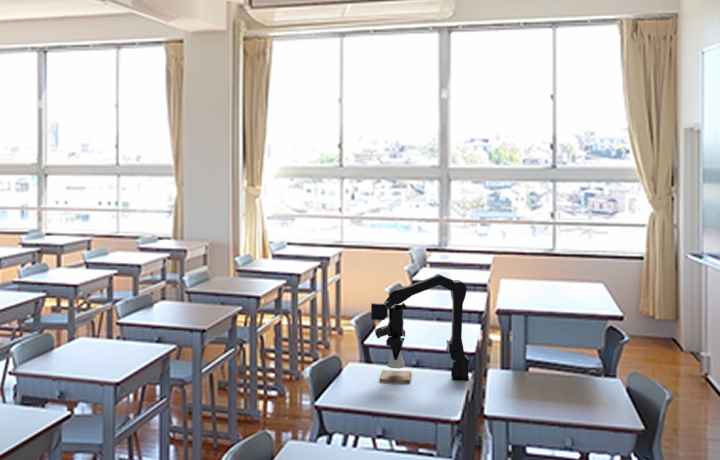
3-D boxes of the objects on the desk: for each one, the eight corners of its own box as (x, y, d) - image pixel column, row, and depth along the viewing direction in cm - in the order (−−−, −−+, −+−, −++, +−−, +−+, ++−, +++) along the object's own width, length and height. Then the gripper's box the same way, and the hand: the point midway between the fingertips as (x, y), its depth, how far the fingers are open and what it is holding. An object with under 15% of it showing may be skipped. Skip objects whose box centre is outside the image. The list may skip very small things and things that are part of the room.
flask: (384, 367, 261) (384, 343, 260) (391, 363, 268) (391, 339, 267) (400, 370, 258) (400, 345, 257) (407, 365, 264) (407, 341, 263)
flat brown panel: (411, 376, 268) (411, 371, 268) (409, 384, 256) (409, 379, 256) (382, 374, 270) (382, 370, 270) (379, 383, 258) (379, 378, 258)
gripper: (378, 314, 272) (378, 351, 273) (373, 324, 253) (373, 363, 254) (405, 315, 270) (405, 352, 271) (401, 325, 252) (402, 364, 253)
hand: (396, 358), depth 262 cm, fingers closed on flask, 5 cm apart
